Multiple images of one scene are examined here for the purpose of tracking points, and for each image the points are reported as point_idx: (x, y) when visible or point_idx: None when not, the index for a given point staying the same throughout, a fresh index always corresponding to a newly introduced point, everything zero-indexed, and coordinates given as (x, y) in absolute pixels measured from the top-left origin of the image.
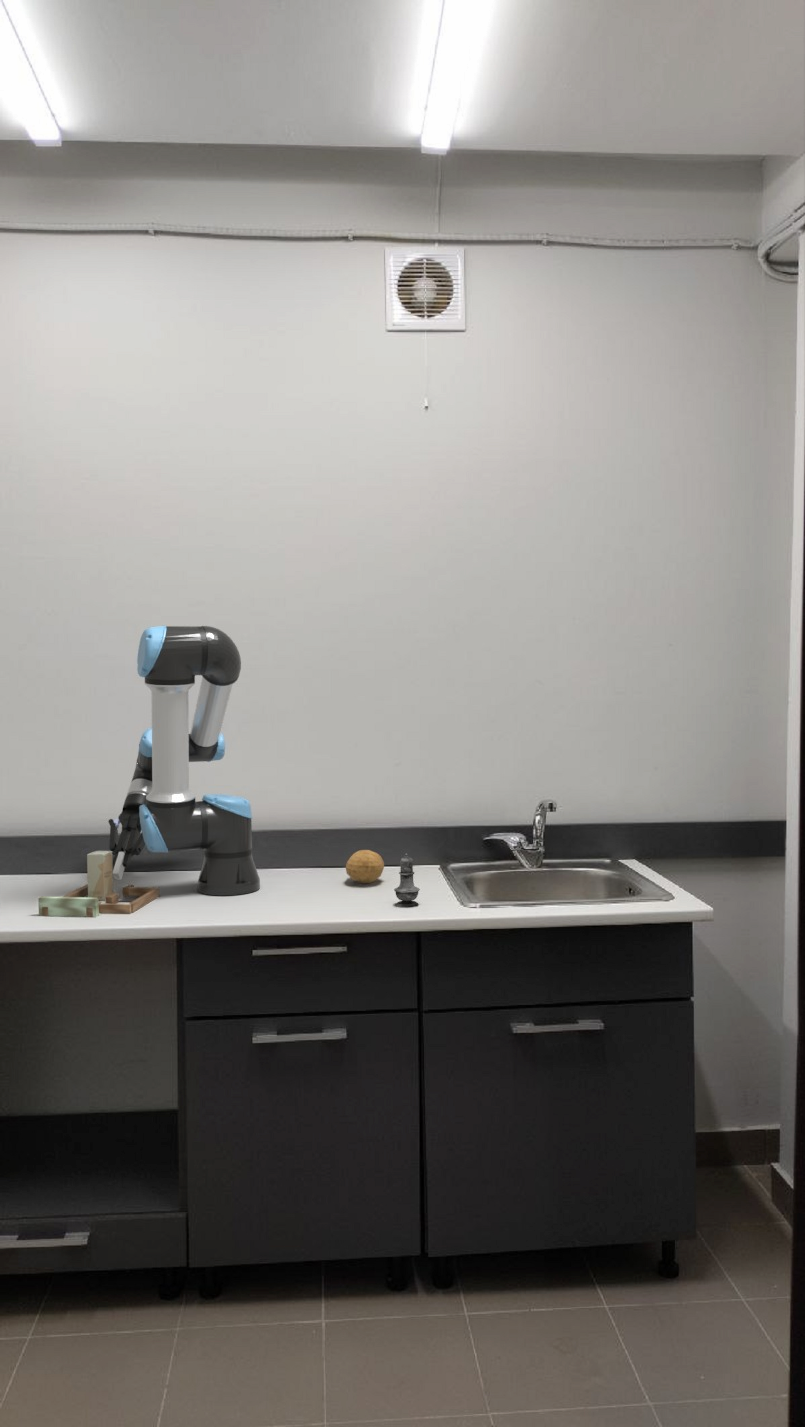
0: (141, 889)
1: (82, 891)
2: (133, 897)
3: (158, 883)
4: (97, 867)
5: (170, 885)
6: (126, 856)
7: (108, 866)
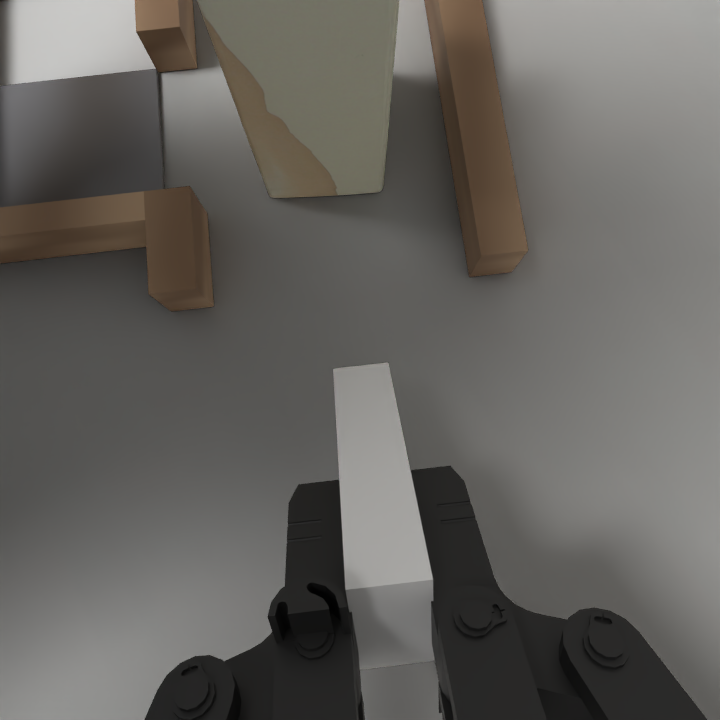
0: (49, 207)
1: (449, 90)
2: (105, 169)
3: (130, 664)
4: None
5: (5, 611)
6: (319, 571)
7: None
